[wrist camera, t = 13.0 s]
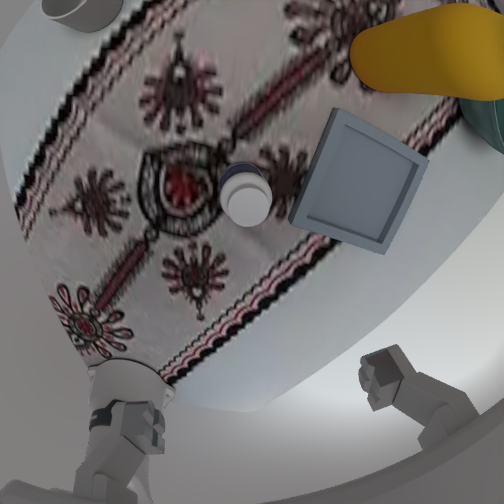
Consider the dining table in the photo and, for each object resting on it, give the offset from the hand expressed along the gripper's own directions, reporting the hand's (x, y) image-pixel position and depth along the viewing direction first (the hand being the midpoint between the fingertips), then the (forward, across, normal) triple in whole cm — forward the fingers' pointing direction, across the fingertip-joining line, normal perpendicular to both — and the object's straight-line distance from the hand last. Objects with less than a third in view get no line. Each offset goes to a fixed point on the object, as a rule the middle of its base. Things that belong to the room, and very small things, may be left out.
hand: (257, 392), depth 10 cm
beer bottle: (+29, -23, -14) cm, 39 cm away
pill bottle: (+29, -2, 0) cm, 29 cm away
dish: (+29, -18, +3) cm, 34 cm away
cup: (+30, +12, -29) cm, 43 cm away
